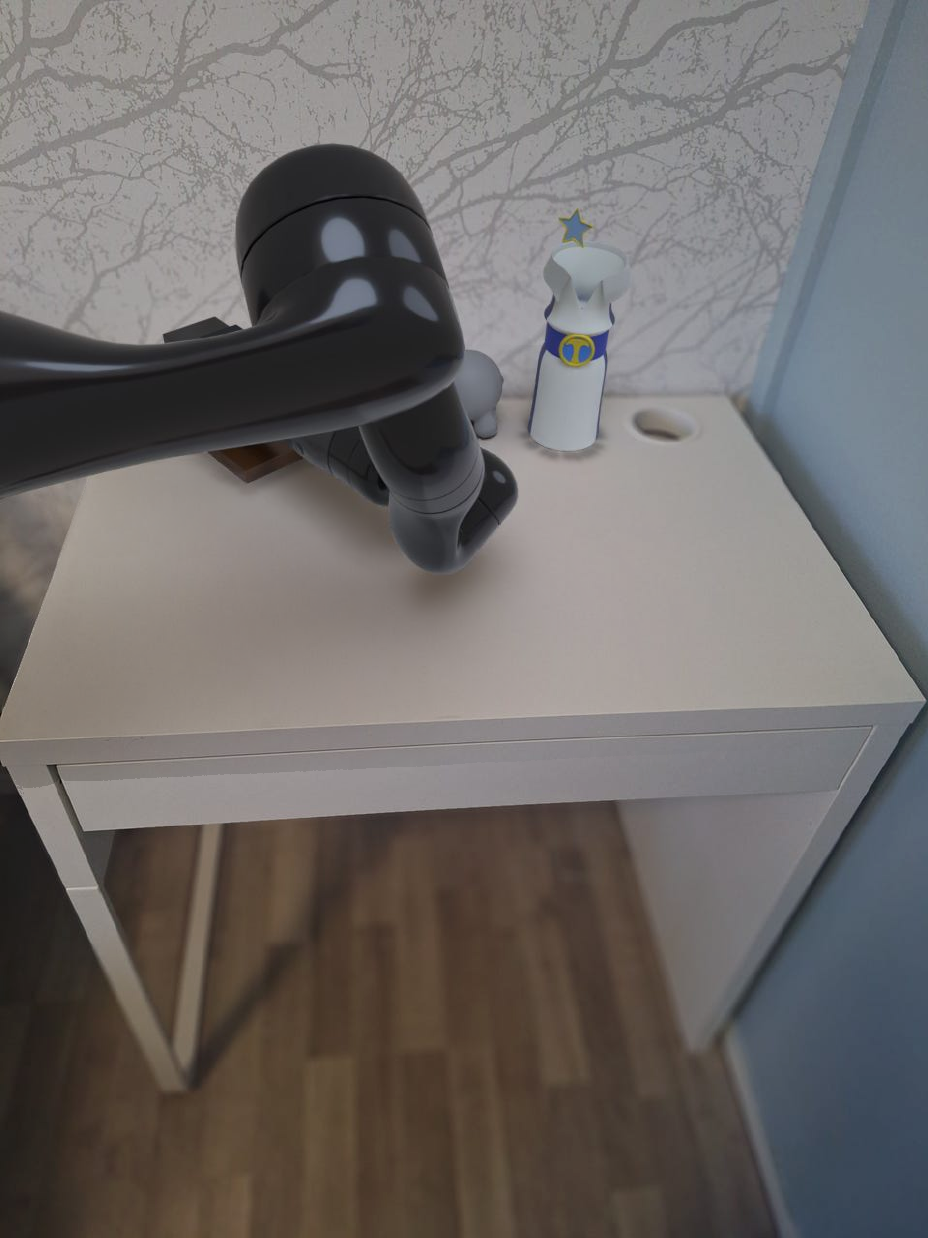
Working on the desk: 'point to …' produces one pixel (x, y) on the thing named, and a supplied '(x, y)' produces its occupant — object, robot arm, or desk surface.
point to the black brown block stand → (241, 459)
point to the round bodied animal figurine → (480, 391)
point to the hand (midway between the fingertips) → (219, 347)
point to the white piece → (576, 338)
